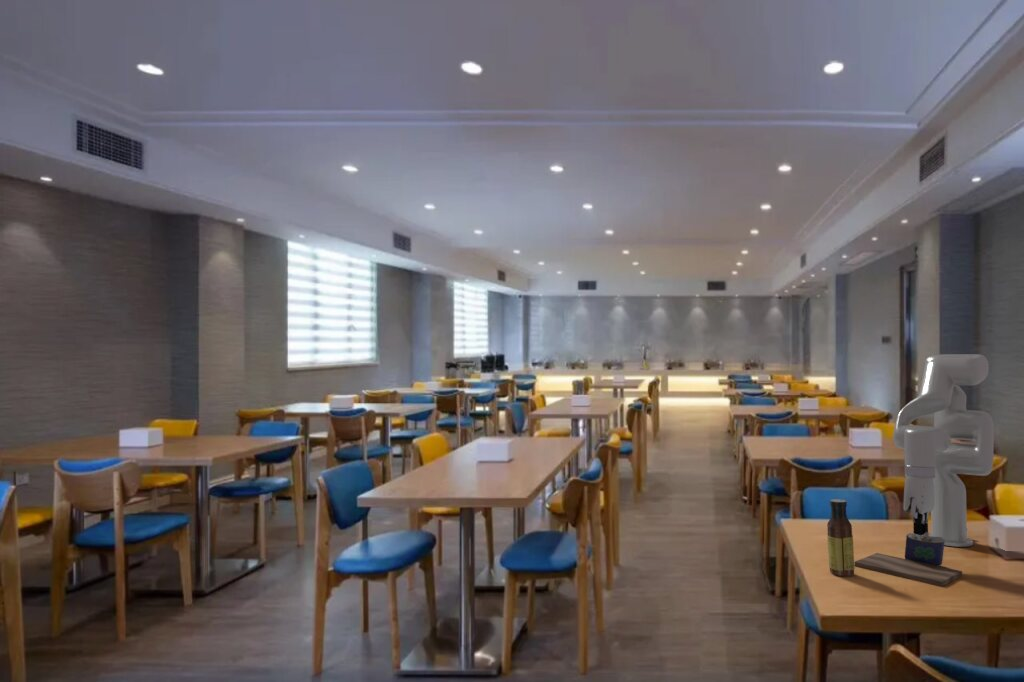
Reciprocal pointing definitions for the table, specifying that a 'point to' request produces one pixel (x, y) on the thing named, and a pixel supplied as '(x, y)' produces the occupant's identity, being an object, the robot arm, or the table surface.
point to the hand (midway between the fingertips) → (920, 536)
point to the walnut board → (909, 569)
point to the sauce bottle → (840, 540)
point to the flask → (924, 548)
